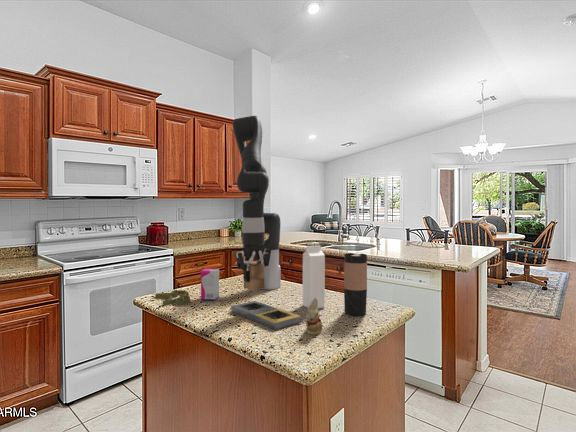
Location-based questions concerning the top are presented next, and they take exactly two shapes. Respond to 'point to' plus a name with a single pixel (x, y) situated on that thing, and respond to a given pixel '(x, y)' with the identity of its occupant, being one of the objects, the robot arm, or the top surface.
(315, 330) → the chocolate bunny
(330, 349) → the top surface
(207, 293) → the supplement box
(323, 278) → the milk
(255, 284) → the block
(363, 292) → the travel mug
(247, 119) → the robot arm
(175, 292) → the cookie cutter
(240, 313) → the gray slotted board
